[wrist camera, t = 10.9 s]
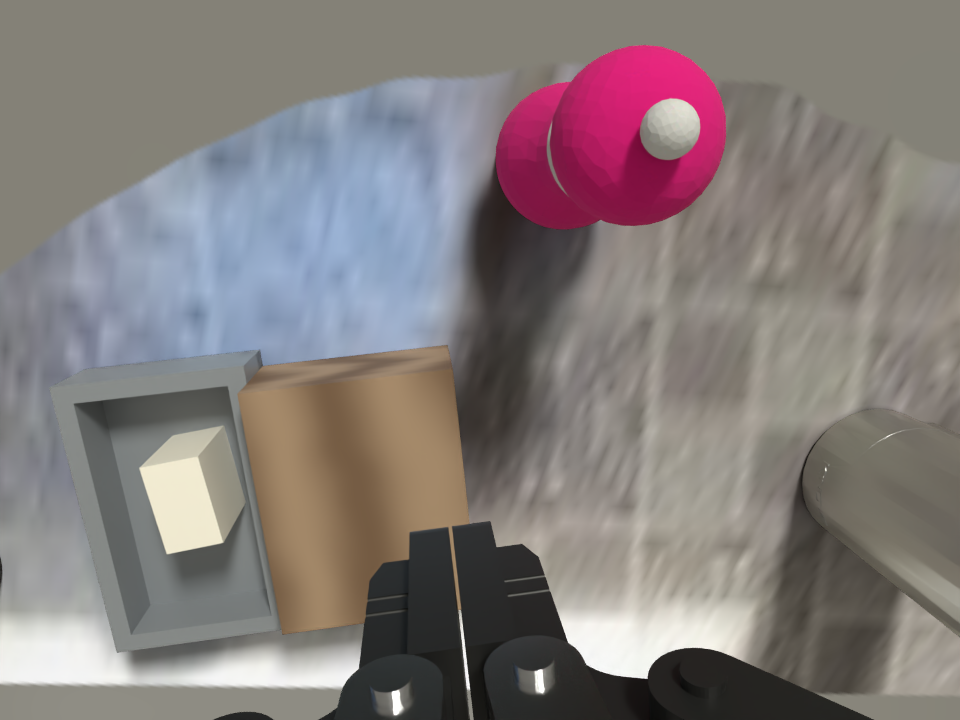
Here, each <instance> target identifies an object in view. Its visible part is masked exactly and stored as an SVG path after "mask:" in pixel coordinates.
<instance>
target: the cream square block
mask: <svg viewBox="0 0 960 720" xmlns="http://www.w3.org/2000/svg"><path fill="white" fill-rule="evenodd" d="M139 469H140V472H141V475H142V478H143V482H144V485H145V488H146V491H147V494H148V497H149V500H150V503H151V506H152V510H153V513H154V516H155V519H156V522H157V525H158V528H159V531H160V535H161V538H162V541H163V544H164V547H165V550H166V553H167V554H171V553H176V552H181V551H186V550H191V549H196V548H201V547H205V546H210V545H215V544H220V543H223V542H224V541H225V539H226V537H227V535H228V534H229V532H230V530H231V528H232V526H233V525H234V523H235V521H236V519H237V517H238V516H239V514H240V512H241V510H242V508H243V507H244V505H245V503H246V501H245V498H244V494H243V491H242V487H241V484H240V480H239V477H238V473H237V470H236V466H235V463H234V459H233V455H232V452H231V448H230V445H229V441H228V438H227V434H226V431H225V427H224V425H223V426H218V427H213V428H208V429H203V430H198V431H193V432H188V433H183V434H177V435H173V436H172V437H171V438H170V439H169V440H167V441H166V442H165V443H164V444H163V445H162V446H161V447H160V448H159V449H158V450H157V451H156V452H155V453H154V454H153V455H152V456H151V457H150V458H149V459H148V460H147V461H146V462H145V463H144V464H143V465H142V466H141V467H140V468H139Z"/></svg>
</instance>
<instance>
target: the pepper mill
mask: <svg viewBox="0 0 960 720" xmlns="http://www.w3.org/2000/svg"><path fill="white" fill-rule="evenodd" d="M725 140H726V116H725V112H724V108H723V104H722V100H721V97H720V95H719V93H718V91H717V89H716V87H715V85H714V83H713V82H712V81H711V79H710V78H709V77H708V75H707V74H706V73H705V72H704V71H703V70H702V69H701V68H700V67H699V66H698V65H696V64H695V63H694V62H693V61H692V60H691V59H689V58H687V57H685V56H683V55H681V54H680V53H678V52H675V51H673V50H669V49H667V48H664V47H658V46H646V45H642V46H629V47H625V48H621V49H618V50H614V51H612V52H610V53H607V54H605V55H603V56H601V57H599V58H597V59H596V60H594V61H593V62H591V63H590V64H588V65H587V66H586V67H585V68H584V69H583V70H582V71H581V72H579V73H578V74H577V75H576V77H575V78H574V79H573V80H572V81H571V82H565V83H557V84H554V85H550V86H547V87H544V88H542V89H540V90H538V91H536V92H534V93H532V94H530V95H529V96H527V97H526V98H525V99H523V100H522V101H521V102H520V103H519V104H518V105H517V106H516V107H515V108H514V109H513V111H512V112H511V113H510V114H509V116H508V118H507V119H506V121H505V122H504V125H503V127H502V129H501V132H500V134H499V139H498V143H497V147H496V169H497V175H498V179H499V182H500V185H501V187H502V190H503V192H504V194H505V195H506V197H507V199H508V200H509V202H510V203H511V204H512V205H513V207H514V208H515V209H516V210H517V211H518V212H519V213H520V214H522V215H523V216H524V217H525V218H527V219H529V220H530V221H532V222H534V223H536V224H538V225H541V226H544V227H547V228H553V229H573V228H580V227H584V226H587V225H590V224H593V223H595V222H597V221H599V220H602V221H605V222H608V223H613V224H618V225H624V226H637V225H647V224H652V223H656V222H659V221H663V220H665V219H667V218H669V217H671V216H674V215H676V214H678V213H679V212H681V211H682V210H684V209H685V208H686V207H688V206H689V205H691V204H692V203H693V202H694V201H695V200H696V199H697V198H698V197H699V196H700V195H701V194H702V192H703V191H704V190H705V188H706V187H707V186H708V184H709V183H710V182H711V180H712V179H713V177H714V175H715V173H716V171H717V168H718V166H719V164H720V161H721V158H722V155H723V151H724V146H725Z"/></svg>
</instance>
